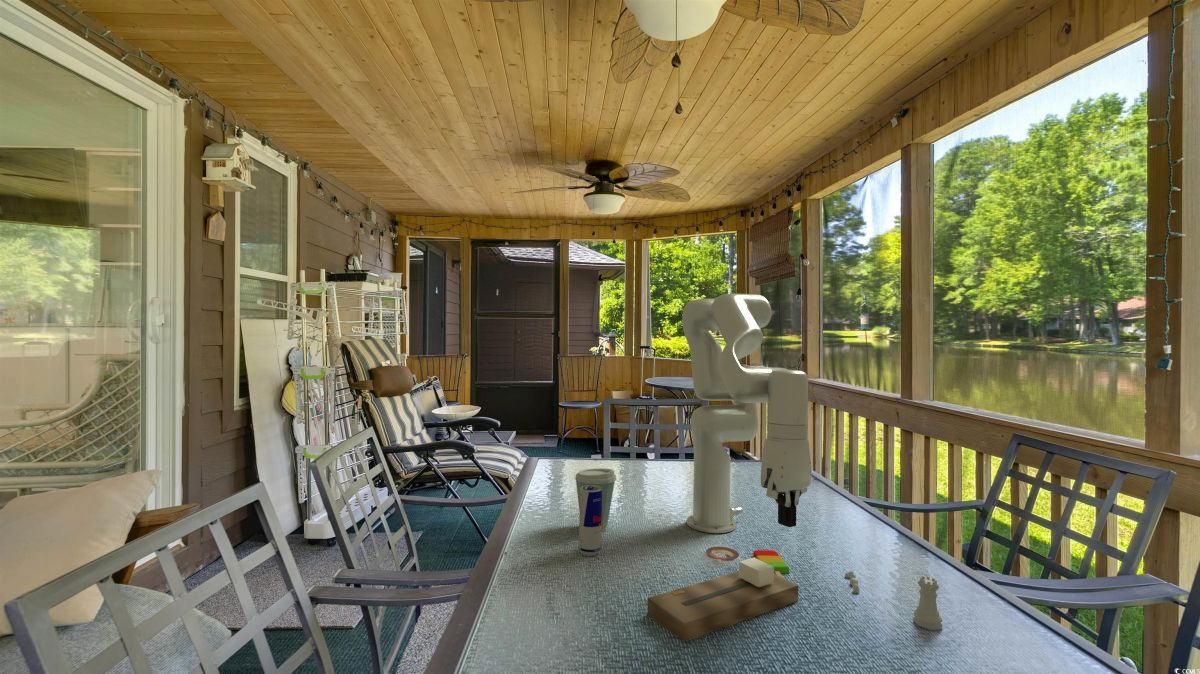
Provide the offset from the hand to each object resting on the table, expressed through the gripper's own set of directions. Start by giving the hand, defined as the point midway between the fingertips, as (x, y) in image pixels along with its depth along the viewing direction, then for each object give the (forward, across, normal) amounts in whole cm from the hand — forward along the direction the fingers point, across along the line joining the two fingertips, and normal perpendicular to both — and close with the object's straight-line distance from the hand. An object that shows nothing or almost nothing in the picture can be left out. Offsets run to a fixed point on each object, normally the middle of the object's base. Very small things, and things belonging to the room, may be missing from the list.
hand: (787, 524), depth 109 cm
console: (+13, +16, -1) cm, 20 cm away
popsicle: (+13, -5, -8) cm, 16 cm away
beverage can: (+12, +25, -35) cm, 45 cm away
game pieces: (+13, -14, +5) cm, 20 cm away
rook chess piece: (+13, -11, +21) cm, 27 cm away
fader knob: (+10, +8, -1) cm, 12 cm away
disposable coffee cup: (+12, +16, -48) cm, 52 cm away
